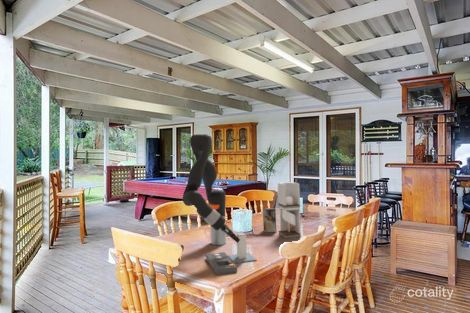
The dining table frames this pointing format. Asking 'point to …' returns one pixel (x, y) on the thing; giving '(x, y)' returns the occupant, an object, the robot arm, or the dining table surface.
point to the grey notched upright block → (289, 209)
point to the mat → (237, 260)
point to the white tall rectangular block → (241, 246)
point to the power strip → (221, 263)
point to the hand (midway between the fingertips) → (236, 239)
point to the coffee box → (269, 219)
